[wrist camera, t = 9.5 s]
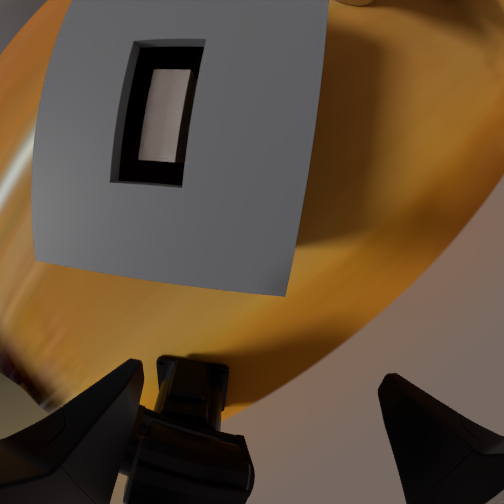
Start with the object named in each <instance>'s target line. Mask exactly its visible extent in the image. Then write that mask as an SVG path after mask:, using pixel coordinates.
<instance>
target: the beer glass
mask: <svg viewBox="0 0 504 504" xmlns="http://www.w3.org/2000/svg"><path fill="white" fill-rule="evenodd" d="M337 1H339V2H342V3H345V4H348V5H354V6H366V5H369V4H371V3H373V2H374V1H375V0H337Z"/></svg>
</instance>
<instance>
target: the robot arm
mask: <svg viewBox="0 0 504 504" xmlns="http://www.w3.org/2000/svg"><path fill="white" fill-rule="evenodd" d="M161 361H162V362H161ZM163 362H164V363H163ZM156 363H157V374H158V385H159V394H158V398H157V401H156V405H155V408H154V411H152V410H150V409H147V408H145V406H142V405H140V404H139V403H140V398H141V393H142V389H143V384H144V372H143V364H142V361H140V360H137V359H132V358H131V359H128V360H127V361H126V362H124V363H123V364H121V365H120V366H119V367H117V368H116V369H114V370H113V371H112V372H110V373H109V374H107V375H106V376H105V377H103V378H102V379H100V380H99V381H98V382H96V383H95V384H93V385H92V386H90V387H89V388H88V389H86V390H85V391H83V392H82V393H81V394H79V395H78V396H76V397H75V398H73V399H72V400H71V401H69V402H68V403H66V404H65V405H63V407H60V408H59V409H57V410H56V411H55V412H53V413H51V414H50V415H48V416H47V417H45V418H44V419H42V420H40V421H38V422H36V423H35V424H33V425H31V426H29V427H27V428H25V429H23V430H21V431H19V432H17V433H15V434H13V435H11V436H9V437H6V438H3V439H0V504H110V500H111V496H112V493H113V489H114V486H115V483H116V479H117V476H118V473H121V474H123V475H126V476H128V477H127V481H126V485H125V490H124V498H123V503H124V504H245V503H246V501H247V499H248V497H249V496H250V494H251V492H252V489H253V485H254V479H255V475H254V474H255V473H254V467H253V464H252V461H251V458H250V454H249V451H248V448H247V445H246V441H245V439H244V436H242V435H233V434H228V433H224V432H220V427H221V412H222V411H224V407H225V400H226V392H227V385H228V377H229V367H228V366H226V365H221V364H212V363H203V362H196V361H188V360H182V359H175V358H169V357H163V356H160V357H158V359H157V362H156ZM222 370H225V371H222ZM378 397H379V401H380V406H381V411H382V415H383V420H384V424H385V428H386V431H387V435H388V438H389V441H390V444H391V447H392V451H393V454H394V458H395V461H396V465H397V468H398V472H399V476H400V480H401V483H402V487H403V491H404V495H405V499H406V503H407V504H504V436H501V435H498V434H496V433H494V432H492V431H490V430H488V429H486V428H484V427H482V426H480V425H478V424H476V423H474V422H473V421H471V420H469V419H467V418H466V417H464V416H463V415H461V414H458V412H456V411H454V410H453V409H451V408H450V407H448V406H447V405H445V404H443V403H442V402H440V401H439V400H437V399H435V398H434V397H432V396H431V395H429V394H428V393H426V392H425V391H423V390H421V389H420V388H418V387H417V386H415V385H414V384H412V383H410V382H409V381H407V380H406V379H404V378H403V377H401V376H400V375H398V374H397V373H390V374H387V375H386V376H385V377H384V379H383V381H382V383H381V384H380V386H379V388H378Z"/></svg>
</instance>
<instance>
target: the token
mask: <svg viewBox="0 0 504 504" xmlns="http://www.w3.org/2000/svg"><path fill="white" fill-rule="evenodd" d="M196 86H197V80H196V79H195V77H194V75H193V73H192V71H191V70H179V69H154V71H153V76H152V80H151V85H150V90H149V94H148V99H147V105H146V110H145V116H144V122H143V128H142V135H141V142H140V149H139V157H138V160H151V161H164V162H185V157H186V150H187V142H188V135H189V128H190V122H191V115H192V109H193V103H194V97H195V92H196Z"/></svg>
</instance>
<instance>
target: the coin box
mask: <svg viewBox="0 0 504 504" xmlns="http://www.w3.org/2000/svg"><path fill="white" fill-rule="evenodd" d="M328 4H329V0H72V2H71V4H70V6H69V8H68V11H67V13H66V15H65V18H64V20H63V23H62V25H61V28H60V31H59V34H58V36H57V39H56V42H55V45H54V48H53V52H52V55H51V58H50V62H49V65H48V69H47V73H46V77H45V81H44V85H43V89H42V94H41V99H40V104H39V110H38V116H37V123H36V130H35V138H34V148H33V161H32V186H31V203H32V228H33V241H34V251H35V259H36V261H41V262H46V263H51V264H56V265H61V266H67V267H72V268H77V269H83V270H89V271H94V272H100V273H106V274H112V275H118V276H124V277H131V278H137V279H143V280H150V281H157V282H164V283H171V284H178V285H186V286H193V287H201V288H209V289H217V290H226V291H235V292H244V293H253V294H263V295H273V296H283V297H285V295H286V290H287V286H288V281H289V276H290V271H291V266H292V261H293V256H294V251H295V246H296V240H297V235H298V230H299V224H300V219H301V213H302V208H303V202H304V196H305V190H306V184H307V178H308V172H309V166H310V159H311V153H312V146H313V139H314V133H315V125H316V118H317V111H318V103H319V95H320V87H321V79H322V70H323V60H324V51H325V40H326V29H327V17H328ZM169 46H194V47H204V51H203V56H202V61H201V66H200V71H199V76H198V81H197V86H196V92H195V97H194V103H193V109H192V115H191V122H190V128H189V135H188V142H187V150H186V157H185V166H184V174H183V184H182V186H181V185H170V184H158V183H145V182H130V181H118V180H119V167H120V157H121V147H122V139H123V131H124V124H125V118H126V112H127V106H128V100H129V95H130V90H131V85H132V80H133V75H134V71H135V67H136V62H137V58H138V54H139V51H140V48H146V47H169Z"/></svg>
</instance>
